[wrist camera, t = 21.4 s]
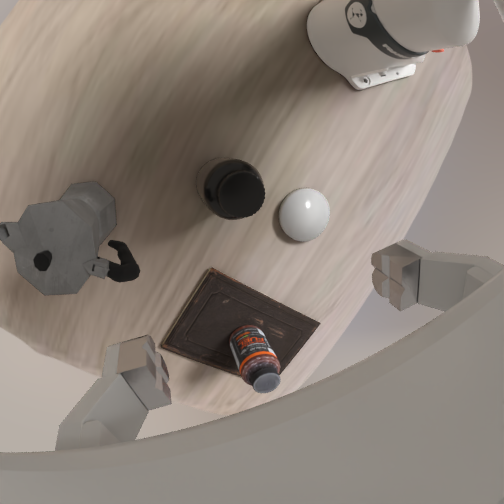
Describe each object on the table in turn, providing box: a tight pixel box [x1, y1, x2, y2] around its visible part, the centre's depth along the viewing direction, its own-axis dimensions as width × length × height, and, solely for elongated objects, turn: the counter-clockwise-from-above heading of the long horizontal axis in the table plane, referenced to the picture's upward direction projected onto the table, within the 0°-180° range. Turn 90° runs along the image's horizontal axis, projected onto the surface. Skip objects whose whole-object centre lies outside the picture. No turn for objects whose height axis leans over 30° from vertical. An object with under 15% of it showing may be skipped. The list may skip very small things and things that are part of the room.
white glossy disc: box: [279, 188, 330, 241], centre depth 45 cm, size 8×8×1 cm
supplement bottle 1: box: [196, 158, 265, 220], centre depth 35 cm, size 7×7×12 cm
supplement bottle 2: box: [229, 325, 280, 393], centre depth 44 cm, size 6×6×11 cm
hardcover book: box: [161, 268, 320, 376], centre depth 50 cm, size 16×23×2 cm
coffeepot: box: [0, 182, 140, 295], centre depth 29 cm, size 15×9×18 cm, turn 66°
